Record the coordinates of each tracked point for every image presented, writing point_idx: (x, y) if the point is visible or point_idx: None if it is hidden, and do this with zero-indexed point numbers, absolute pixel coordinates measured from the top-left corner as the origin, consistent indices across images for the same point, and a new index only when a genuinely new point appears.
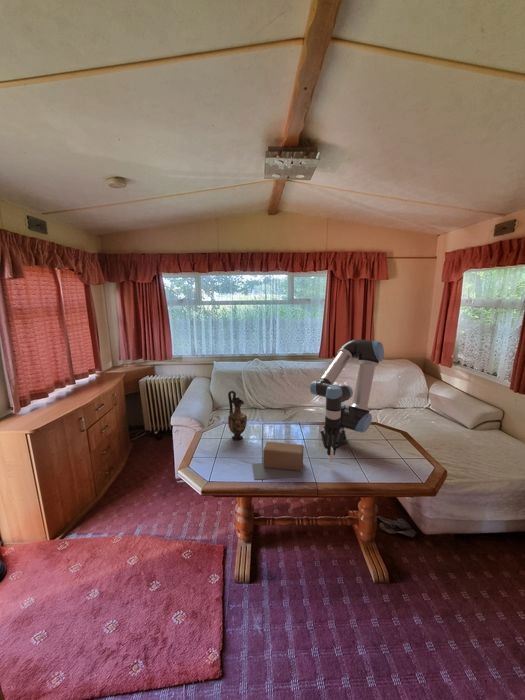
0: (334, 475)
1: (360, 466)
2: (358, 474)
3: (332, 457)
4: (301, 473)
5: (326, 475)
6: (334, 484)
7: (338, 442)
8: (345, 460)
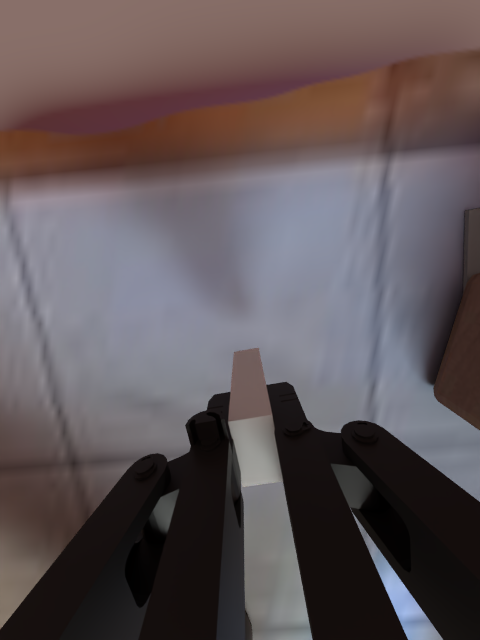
0: (235, 255)
1: (48, 378)
2: (68, 283)
3: (240, 368)
4: (473, 250)
5: (291, 250)
6: (253, 135)
7: (86, 587)
8: (137, 436)
